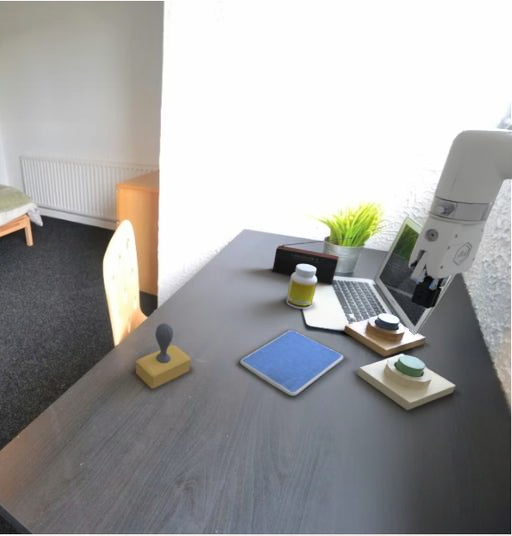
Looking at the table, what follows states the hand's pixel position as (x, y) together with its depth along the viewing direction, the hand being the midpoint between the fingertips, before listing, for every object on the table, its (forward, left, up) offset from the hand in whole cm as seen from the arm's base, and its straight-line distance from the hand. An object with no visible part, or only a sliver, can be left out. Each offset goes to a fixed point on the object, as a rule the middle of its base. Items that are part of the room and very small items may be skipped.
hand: (422, 304), depth 69 cm
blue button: (-7, -9, -12) cm, 17 cm away
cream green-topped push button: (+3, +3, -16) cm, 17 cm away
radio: (-14, -39, -16) cm, 45 cm away
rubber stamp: (+45, -17, -16) cm, 50 cm away
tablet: (+18, -10, -16) cm, 26 cm away
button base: (-7, -9, -16) cm, 20 cm away
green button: (+3, +3, -12) cm, 13 cm away
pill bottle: (-1, -28, -16) cm, 32 cm away
